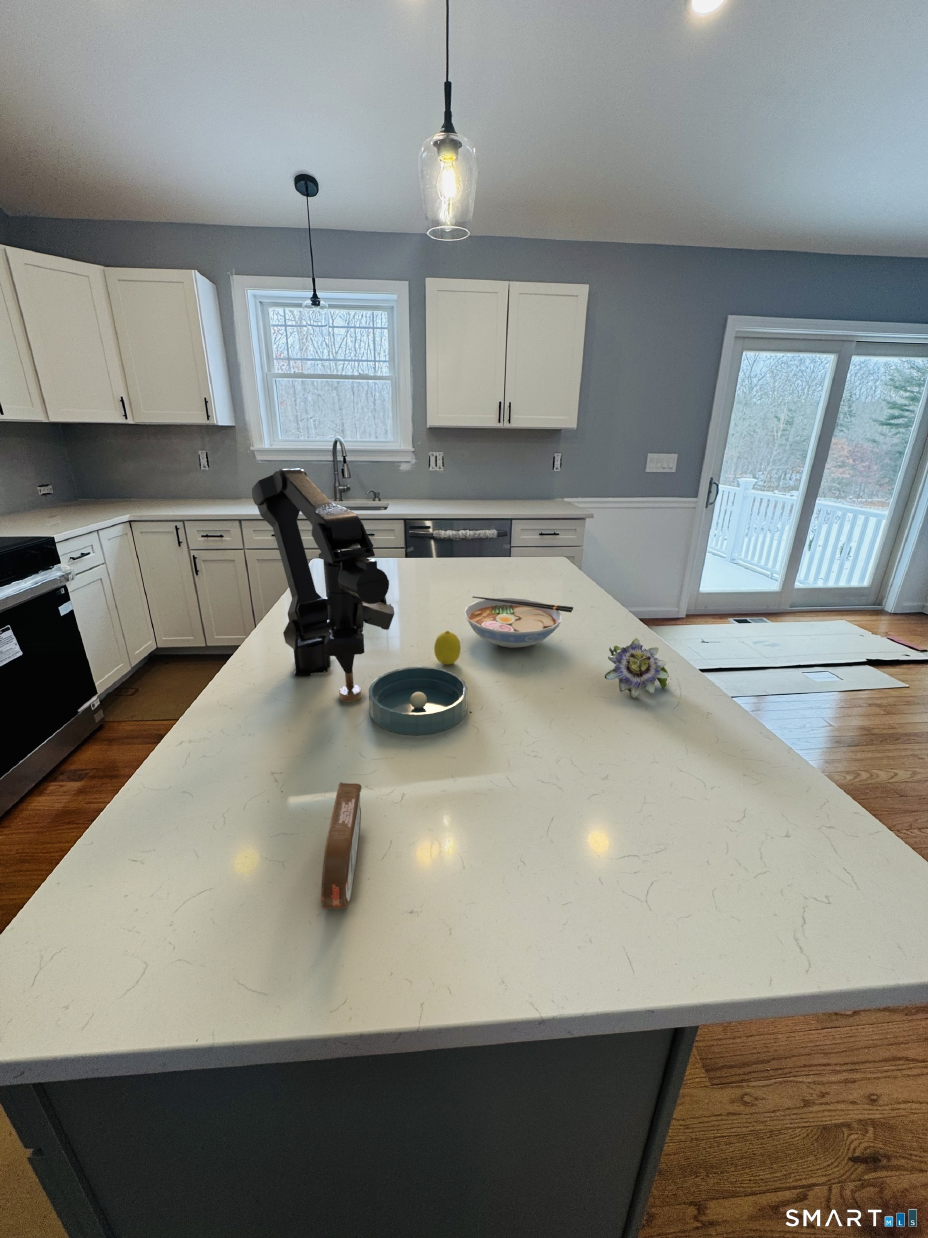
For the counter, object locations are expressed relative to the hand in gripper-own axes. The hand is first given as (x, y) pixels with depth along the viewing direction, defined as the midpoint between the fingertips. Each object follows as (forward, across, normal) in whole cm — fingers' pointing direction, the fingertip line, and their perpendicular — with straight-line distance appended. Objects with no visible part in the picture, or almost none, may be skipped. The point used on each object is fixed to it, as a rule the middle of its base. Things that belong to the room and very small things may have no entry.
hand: (348, 670), depth 92 cm
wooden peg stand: (+6, 0, 0) cm, 6 cm away
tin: (+6, -39, 0) cm, 39 cm away
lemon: (+6, +11, -20) cm, 24 cm away
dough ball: (+5, -6, -12) cm, 14 cm away
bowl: (+6, -6, -12) cm, 15 cm away
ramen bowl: (+6, +21, -37) cm, 43 cm away
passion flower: (+6, -4, -55) cm, 55 cm away
